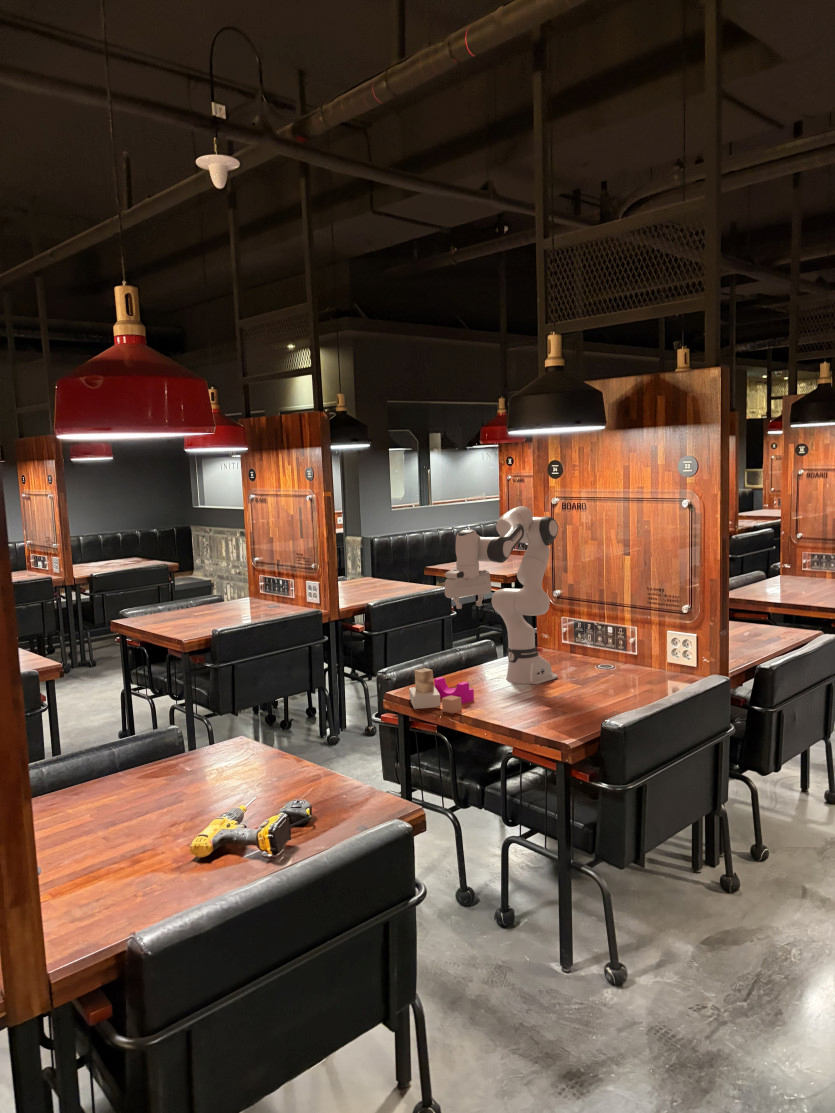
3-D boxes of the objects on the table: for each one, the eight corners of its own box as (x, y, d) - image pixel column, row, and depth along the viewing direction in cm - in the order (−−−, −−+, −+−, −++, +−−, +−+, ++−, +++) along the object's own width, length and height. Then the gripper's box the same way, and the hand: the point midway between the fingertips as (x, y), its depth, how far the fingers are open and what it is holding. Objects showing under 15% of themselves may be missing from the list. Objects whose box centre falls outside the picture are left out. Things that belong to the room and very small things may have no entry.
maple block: (426, 688, 310) (424, 668, 309) (433, 690, 306) (432, 670, 305) (415, 691, 307) (414, 670, 306) (423, 693, 303) (422, 672, 302)
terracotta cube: (451, 708, 298) (450, 695, 297) (461, 710, 294) (461, 697, 294) (442, 711, 294) (442, 698, 294) (452, 713, 291) (452, 700, 290)
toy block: (474, 700, 307) (473, 681, 307) (463, 704, 303) (462, 684, 302) (445, 694, 318) (445, 675, 318) (434, 697, 314) (434, 679, 313)
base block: (434, 698, 314) (434, 685, 313) (440, 707, 300) (440, 694, 300) (409, 700, 313) (409, 687, 312) (414, 709, 299) (413, 696, 298)
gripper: (484, 568, 318) (485, 603, 319) (441, 573, 307) (443, 609, 308) (494, 569, 312) (495, 604, 313) (451, 574, 301) (452, 611, 303)
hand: (469, 607), depth 311 cm, fingers open, 8 cm apart
